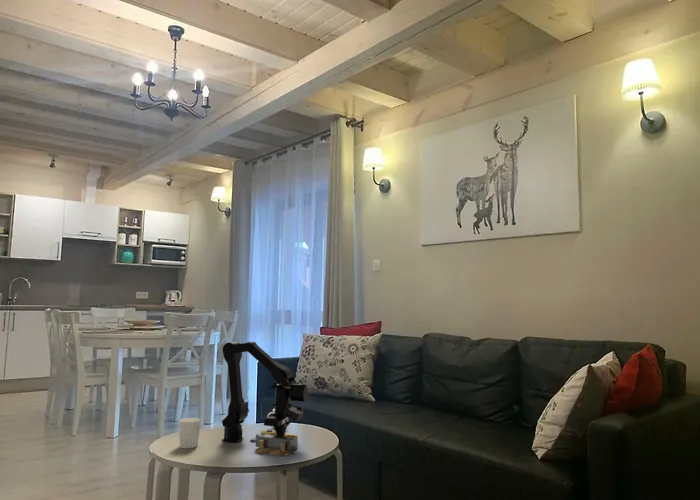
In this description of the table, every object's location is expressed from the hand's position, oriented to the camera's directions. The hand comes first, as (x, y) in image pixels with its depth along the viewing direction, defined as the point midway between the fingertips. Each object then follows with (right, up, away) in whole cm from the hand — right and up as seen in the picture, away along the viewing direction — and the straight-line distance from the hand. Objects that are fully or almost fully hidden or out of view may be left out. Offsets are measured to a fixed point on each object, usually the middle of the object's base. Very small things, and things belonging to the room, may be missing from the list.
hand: (281, 440), depth 209 cm
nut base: (-6, -3, +8) cm, 10 cm away
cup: (-6, -5, +30) cm, 31 cm away
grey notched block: (-1, 0, -9) cm, 9 cm away
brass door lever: (-2, -2, +6) cm, 7 cm away
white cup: (-35, -1, -4) cm, 36 cm away
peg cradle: (-1, -1, -9) cm, 9 cm away
